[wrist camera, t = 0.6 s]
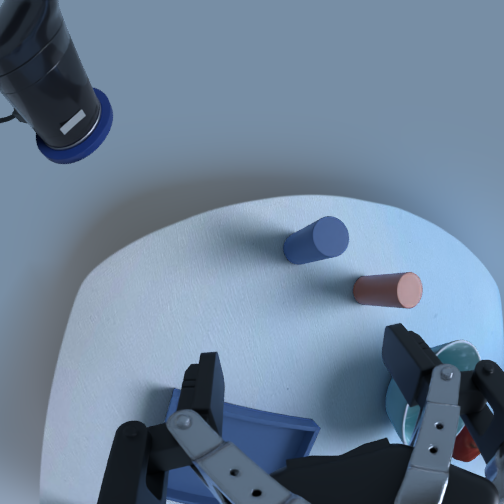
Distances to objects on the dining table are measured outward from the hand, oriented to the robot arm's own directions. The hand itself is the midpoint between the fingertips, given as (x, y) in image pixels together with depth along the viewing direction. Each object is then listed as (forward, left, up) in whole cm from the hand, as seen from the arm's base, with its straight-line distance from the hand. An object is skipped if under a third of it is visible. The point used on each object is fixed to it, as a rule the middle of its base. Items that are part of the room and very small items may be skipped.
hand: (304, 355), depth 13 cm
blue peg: (+4, +9, -20) cm, 22 cm away
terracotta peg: (+14, +7, -20) cm, 25 cm away
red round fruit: (+45, -12, -20) cm, 50 cm away
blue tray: (+4, -18, -20) cm, 27 cm away
